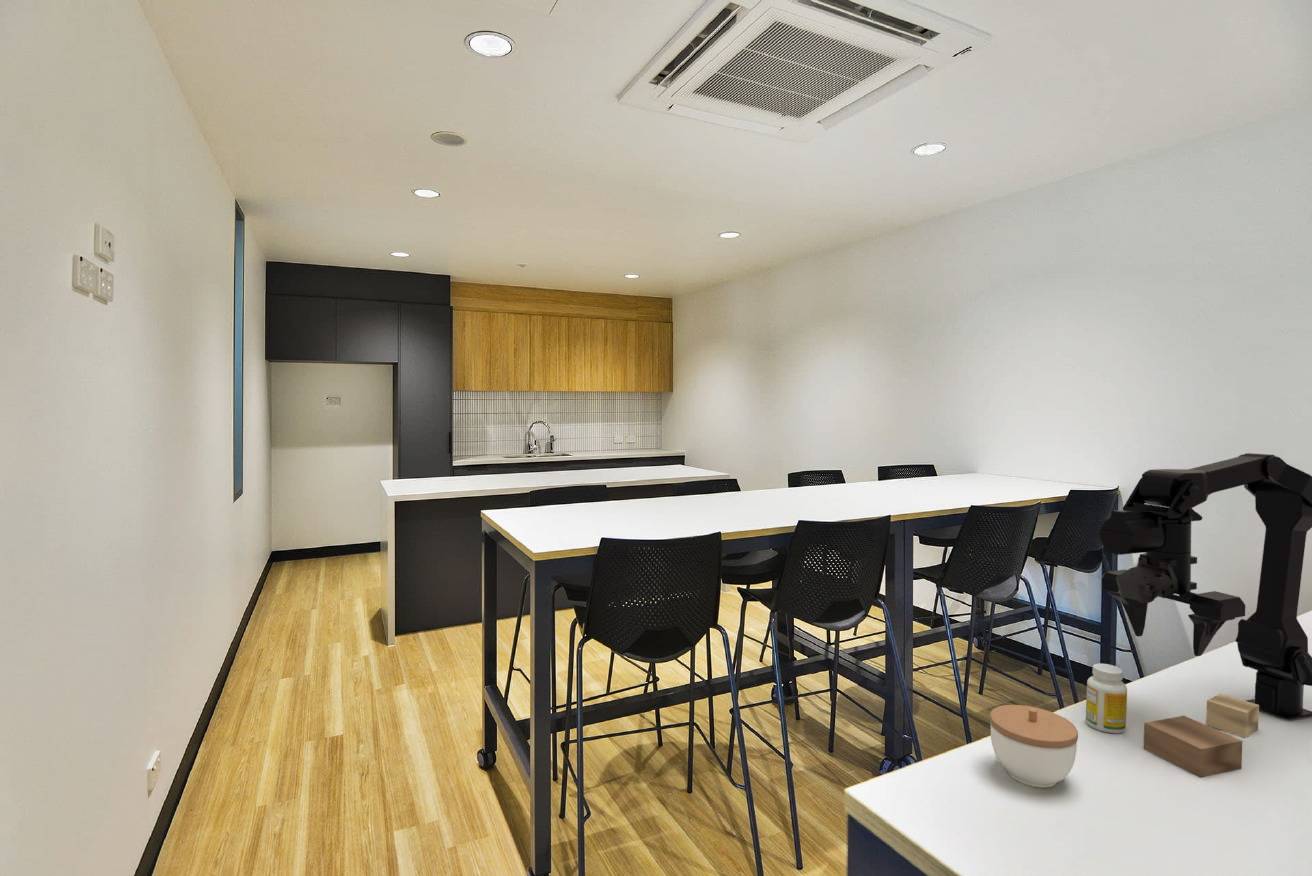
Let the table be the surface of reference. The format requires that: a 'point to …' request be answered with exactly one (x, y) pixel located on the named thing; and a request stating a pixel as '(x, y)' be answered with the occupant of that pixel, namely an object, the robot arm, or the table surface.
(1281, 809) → the table surface
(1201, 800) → the table surface
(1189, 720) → the walnut block
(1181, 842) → the table surface
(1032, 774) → the lidded jar
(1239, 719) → the oak block
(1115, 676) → the supplement bottle
